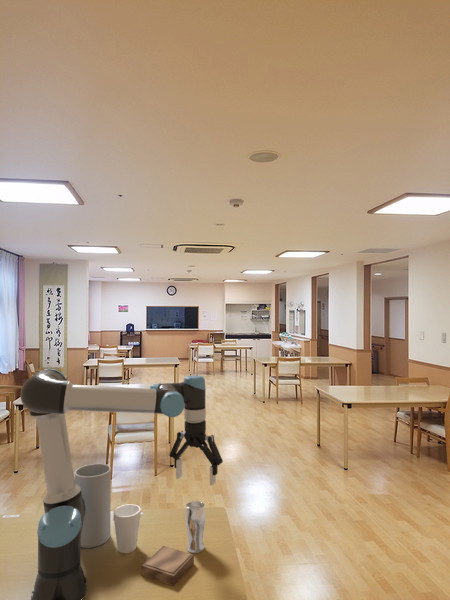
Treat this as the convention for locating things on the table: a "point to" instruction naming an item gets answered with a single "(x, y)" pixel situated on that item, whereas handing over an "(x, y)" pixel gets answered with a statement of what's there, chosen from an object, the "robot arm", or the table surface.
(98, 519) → the cylinder vase
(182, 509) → the table surface
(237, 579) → the table surface
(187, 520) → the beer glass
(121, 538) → the foam cup
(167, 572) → the coaster
